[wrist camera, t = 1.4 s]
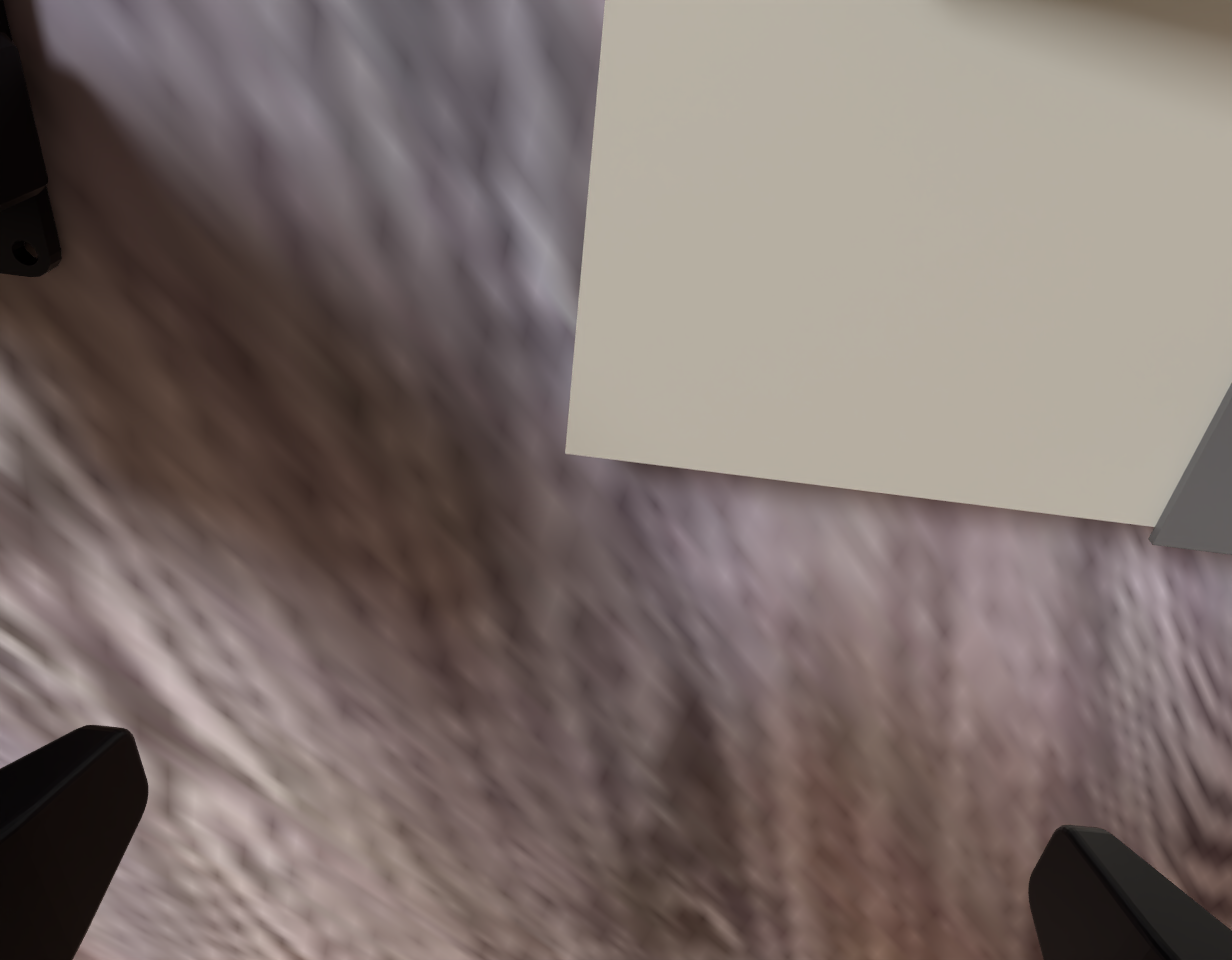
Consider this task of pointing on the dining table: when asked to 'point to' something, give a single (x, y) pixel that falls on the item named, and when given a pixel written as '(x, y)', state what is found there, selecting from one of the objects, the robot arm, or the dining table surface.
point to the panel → (918, 252)
